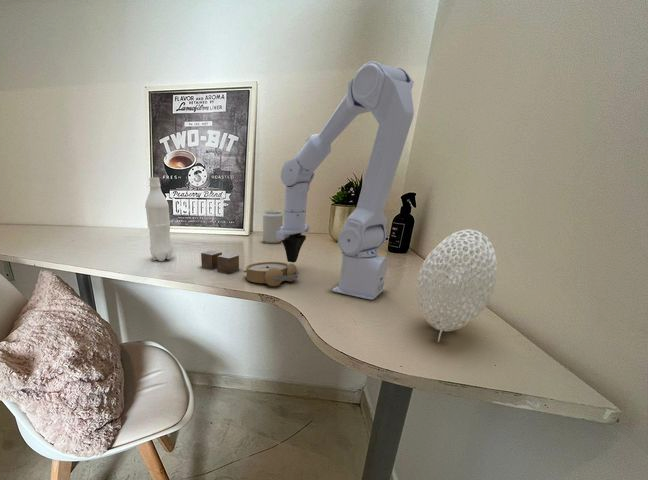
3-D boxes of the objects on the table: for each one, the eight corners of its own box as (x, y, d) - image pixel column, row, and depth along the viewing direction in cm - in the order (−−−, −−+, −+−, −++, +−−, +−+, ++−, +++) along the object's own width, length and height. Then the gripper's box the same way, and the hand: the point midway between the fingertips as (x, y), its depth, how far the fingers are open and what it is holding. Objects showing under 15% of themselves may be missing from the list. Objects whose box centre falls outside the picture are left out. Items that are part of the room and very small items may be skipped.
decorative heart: (419, 308, 69) (438, 223, 62) (482, 321, 63) (511, 228, 56) (395, 341, 56) (417, 239, 49) (471, 361, 50) (508, 248, 43)
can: (259, 240, 134) (260, 209, 129) (276, 239, 136) (277, 208, 131) (267, 244, 128) (268, 212, 123) (284, 243, 130) (286, 210, 125)
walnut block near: (239, 270, 97) (239, 255, 95) (229, 273, 94) (229, 258, 92) (227, 267, 99) (227, 253, 98) (217, 271, 96) (217, 256, 94)
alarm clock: (267, 260, 95) (308, 261, 83) (269, 277, 96) (310, 280, 84) (236, 267, 89) (276, 269, 77) (238, 285, 90) (278, 290, 78)
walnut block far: (222, 266, 101) (221, 252, 99) (212, 269, 98) (211, 255, 96) (211, 264, 103) (211, 250, 101) (201, 267, 100) (200, 252, 98)
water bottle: (175, 260, 108) (168, 177, 98) (153, 263, 106) (143, 178, 96) (170, 255, 114) (163, 176, 104) (149, 258, 112) (140, 177, 102)
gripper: (295, 207, 95) (292, 254, 101) (266, 213, 85) (265, 264, 91) (318, 209, 91) (313, 257, 96) (291, 215, 81) (288, 269, 86)
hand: (291, 261), depth 93 cm, fingers closed
